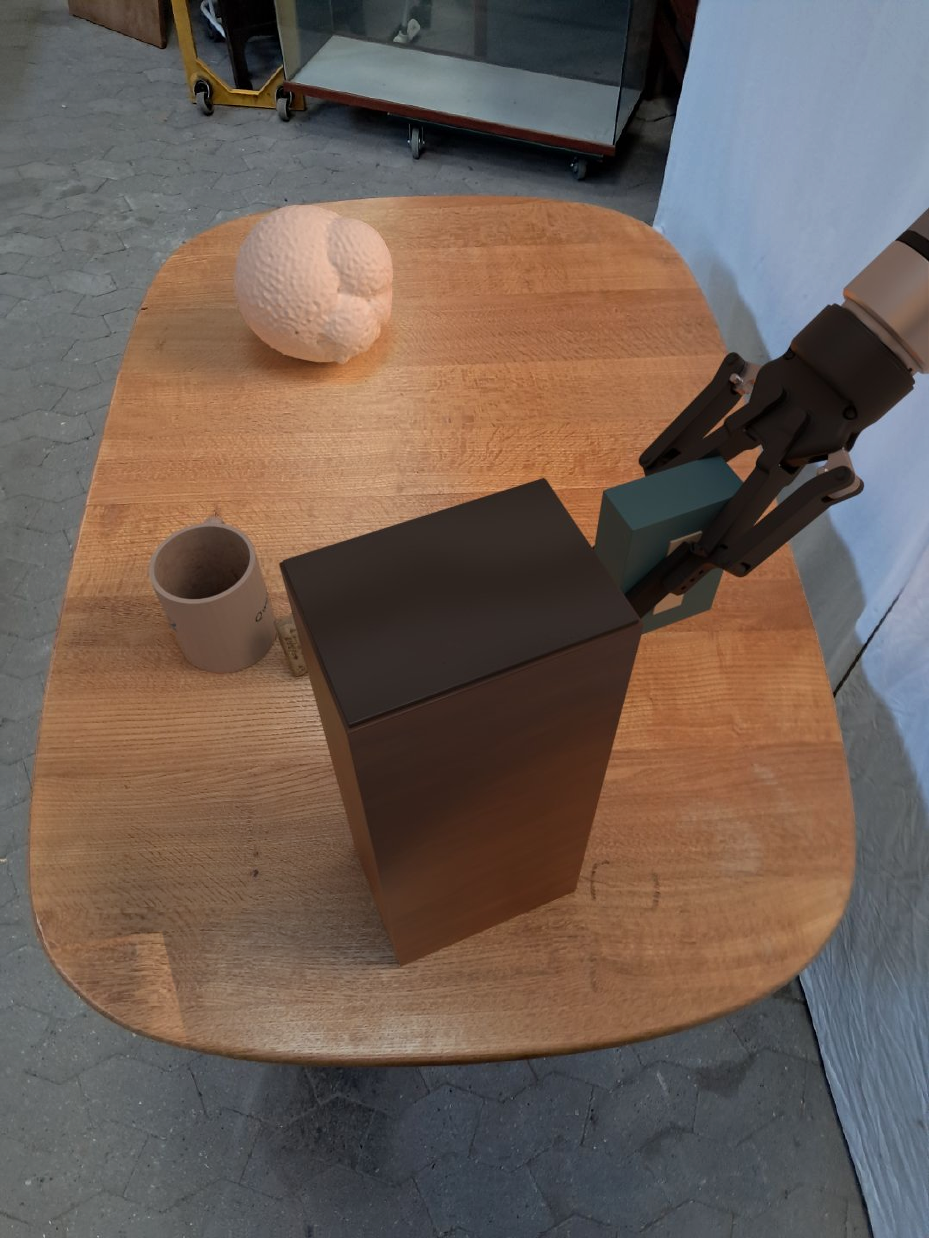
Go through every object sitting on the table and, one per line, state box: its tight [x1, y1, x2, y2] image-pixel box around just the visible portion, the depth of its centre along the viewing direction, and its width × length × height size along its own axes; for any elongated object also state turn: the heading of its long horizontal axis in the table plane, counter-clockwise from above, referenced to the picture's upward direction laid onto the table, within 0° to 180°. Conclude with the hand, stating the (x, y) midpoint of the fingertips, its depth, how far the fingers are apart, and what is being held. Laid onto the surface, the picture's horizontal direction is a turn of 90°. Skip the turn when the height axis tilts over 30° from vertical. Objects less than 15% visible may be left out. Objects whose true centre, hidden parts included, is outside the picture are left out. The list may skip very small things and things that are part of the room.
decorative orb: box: [232, 204, 394, 365], centre depth 100 cm, size 20×18×16 cm
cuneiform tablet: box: [274, 613, 308, 677], centre depth 78 cm, size 7×4×12 cm
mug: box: [148, 515, 277, 674], centre depth 79 cm, size 12×9×10 cm
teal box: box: [593, 456, 744, 636], centre depth 65 cm, size 4×9×13 cm, turn 113°
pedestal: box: [278, 477, 644, 967], centre depth 55 cm, size 10×14×34 cm
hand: (612, 586), depth 66 cm, fingers closed on teal box, 4 cm apart
